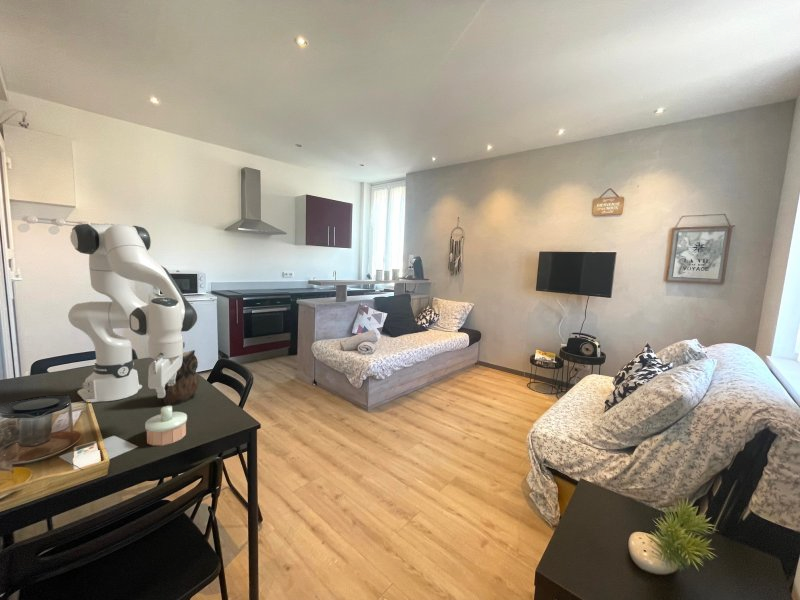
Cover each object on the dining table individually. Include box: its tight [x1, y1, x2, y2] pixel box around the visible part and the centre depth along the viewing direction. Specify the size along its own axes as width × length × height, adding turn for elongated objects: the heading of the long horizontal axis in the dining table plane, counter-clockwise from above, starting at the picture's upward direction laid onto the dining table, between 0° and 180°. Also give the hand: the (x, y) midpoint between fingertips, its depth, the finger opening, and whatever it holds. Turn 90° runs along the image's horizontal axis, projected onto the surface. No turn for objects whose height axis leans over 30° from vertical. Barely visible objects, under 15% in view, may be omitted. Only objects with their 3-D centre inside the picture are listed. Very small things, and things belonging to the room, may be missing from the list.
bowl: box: [146, 421, 187, 446], centre depth 104 cm, size 10×10×5 cm
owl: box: [162, 349, 200, 407], centre depth 131 cm, size 13×13×20 cm
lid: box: [144, 405, 188, 432], centre depth 104 cm, size 11×11×5 cm
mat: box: [58, 435, 139, 465], centre depth 95 cm, size 13×13×1 cm
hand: (166, 390), depth 103 cm, fingers open, 8 cm apart
